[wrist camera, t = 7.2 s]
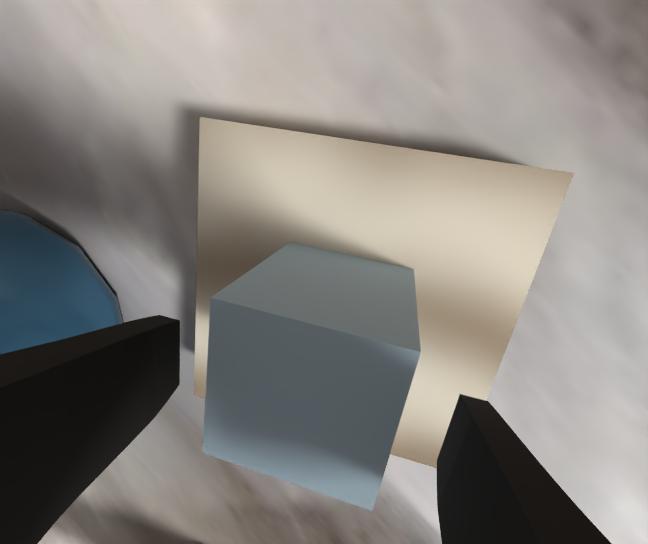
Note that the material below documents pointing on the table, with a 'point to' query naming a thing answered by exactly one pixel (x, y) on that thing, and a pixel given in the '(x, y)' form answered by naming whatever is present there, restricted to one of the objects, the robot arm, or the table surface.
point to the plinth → (383, 243)
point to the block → (312, 369)
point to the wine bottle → (47, 287)
